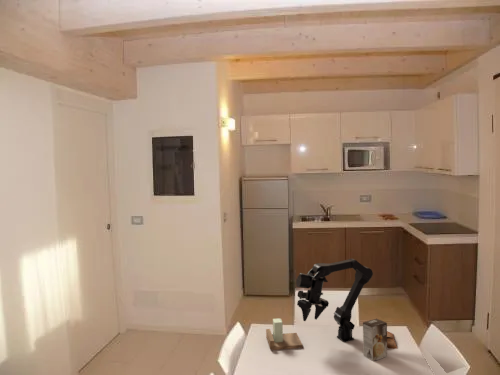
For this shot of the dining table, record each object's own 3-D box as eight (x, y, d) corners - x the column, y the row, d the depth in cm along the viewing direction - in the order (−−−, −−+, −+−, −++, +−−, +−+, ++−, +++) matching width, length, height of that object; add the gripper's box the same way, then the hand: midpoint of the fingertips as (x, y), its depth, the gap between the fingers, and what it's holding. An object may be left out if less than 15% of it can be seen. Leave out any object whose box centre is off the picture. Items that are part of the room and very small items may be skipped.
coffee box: (377, 351, 185) (377, 317, 184) (387, 356, 179) (387, 322, 178) (362, 355, 181) (362, 321, 180) (372, 361, 175) (372, 326, 174)
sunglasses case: (399, 349, 186) (391, 337, 186) (385, 355, 187) (378, 343, 188) (393, 333, 204) (386, 322, 204) (381, 339, 205) (374, 328, 205)
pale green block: (280, 337, 198) (280, 318, 197) (282, 341, 193) (282, 322, 193) (273, 338, 198) (272, 318, 197) (274, 342, 193) (274, 322, 192)
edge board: (296, 335, 203) (296, 327, 203) (302, 347, 189) (302, 338, 189) (266, 337, 202) (266, 329, 202) (270, 350, 188) (270, 341, 188)
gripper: (314, 283, 206) (308, 312, 206) (291, 284, 193) (285, 315, 193) (331, 290, 197) (325, 320, 197) (309, 292, 185) (303, 324, 185)
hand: (310, 320), depth 193 cm, fingers open, 9 cm apart
